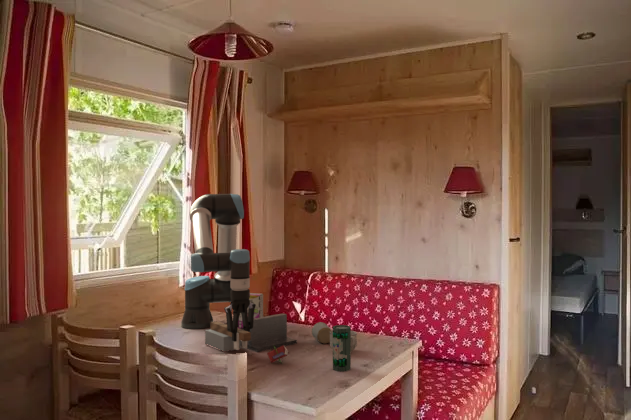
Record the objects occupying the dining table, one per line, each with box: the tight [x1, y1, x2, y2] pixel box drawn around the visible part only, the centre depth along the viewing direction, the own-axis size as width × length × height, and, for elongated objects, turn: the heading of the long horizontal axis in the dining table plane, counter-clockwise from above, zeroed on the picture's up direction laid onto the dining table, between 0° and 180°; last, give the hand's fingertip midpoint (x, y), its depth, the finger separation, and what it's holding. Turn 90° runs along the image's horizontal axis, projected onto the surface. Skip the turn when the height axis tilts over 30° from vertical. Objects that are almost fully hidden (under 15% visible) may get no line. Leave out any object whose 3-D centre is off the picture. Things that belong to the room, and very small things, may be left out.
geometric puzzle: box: [266, 345, 289, 365], centre depth 198 cm, size 7×7×8 cm
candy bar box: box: [238, 292, 264, 330], centre depth 251 cm, size 11×5×16 cm, turn 74°
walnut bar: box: [209, 320, 251, 341], centre depth 216 cm, size 26×3×3 cm, turn 40°
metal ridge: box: [241, 313, 298, 353], centre depth 224 cm, size 14×20×12 cm
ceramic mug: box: [311, 321, 333, 344], centre depth 228 cm, size 11×8×8 cm
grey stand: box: [204, 328, 242, 352], centre depth 221 cm, size 15×8×6 cm, turn 40°
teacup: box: [329, 329, 358, 353], centre depth 211 cm, size 14×11×8 cm
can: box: [332, 324, 352, 372], centre depth 191 cm, size 6×6×15 cm
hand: (240, 348), depth 210 cm, fingers closed on walnut bar, 3 cm apart
